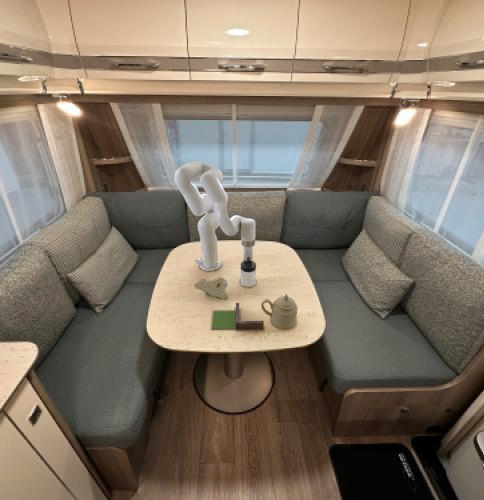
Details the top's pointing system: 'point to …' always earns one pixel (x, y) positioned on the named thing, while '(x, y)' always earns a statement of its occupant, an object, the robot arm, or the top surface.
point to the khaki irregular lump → (213, 287)
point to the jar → (248, 273)
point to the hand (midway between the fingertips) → (248, 269)
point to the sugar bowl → (282, 312)
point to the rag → (223, 320)
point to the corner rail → (247, 323)
